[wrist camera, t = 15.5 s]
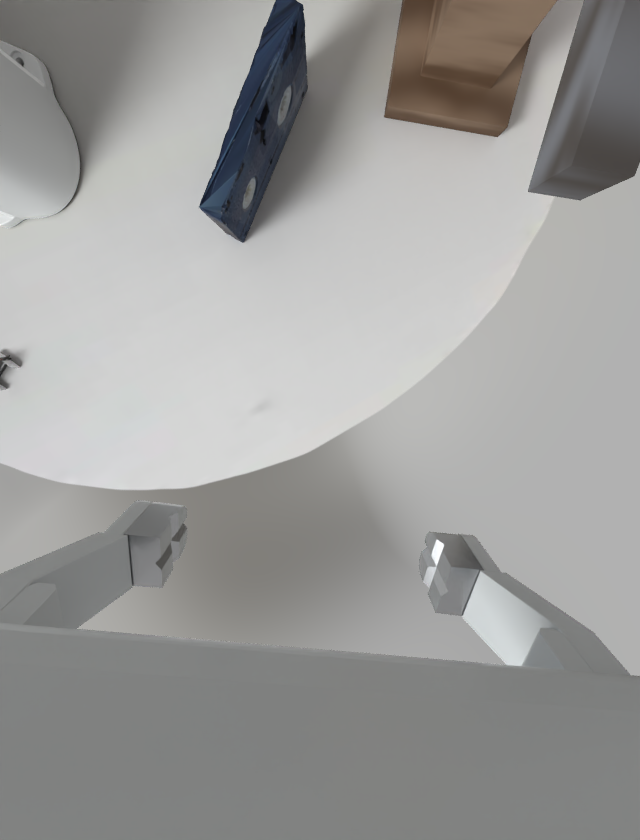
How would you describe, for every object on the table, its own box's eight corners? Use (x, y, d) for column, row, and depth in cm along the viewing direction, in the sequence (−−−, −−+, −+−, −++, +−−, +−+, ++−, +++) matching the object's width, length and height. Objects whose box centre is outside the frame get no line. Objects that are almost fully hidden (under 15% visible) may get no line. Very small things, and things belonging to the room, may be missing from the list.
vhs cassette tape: (289, 73, 35) (279, -18, 25) (312, 90, 35) (310, 7, 26) (222, 231, 40) (193, 205, 30) (243, 244, 40) (220, 222, 31)
